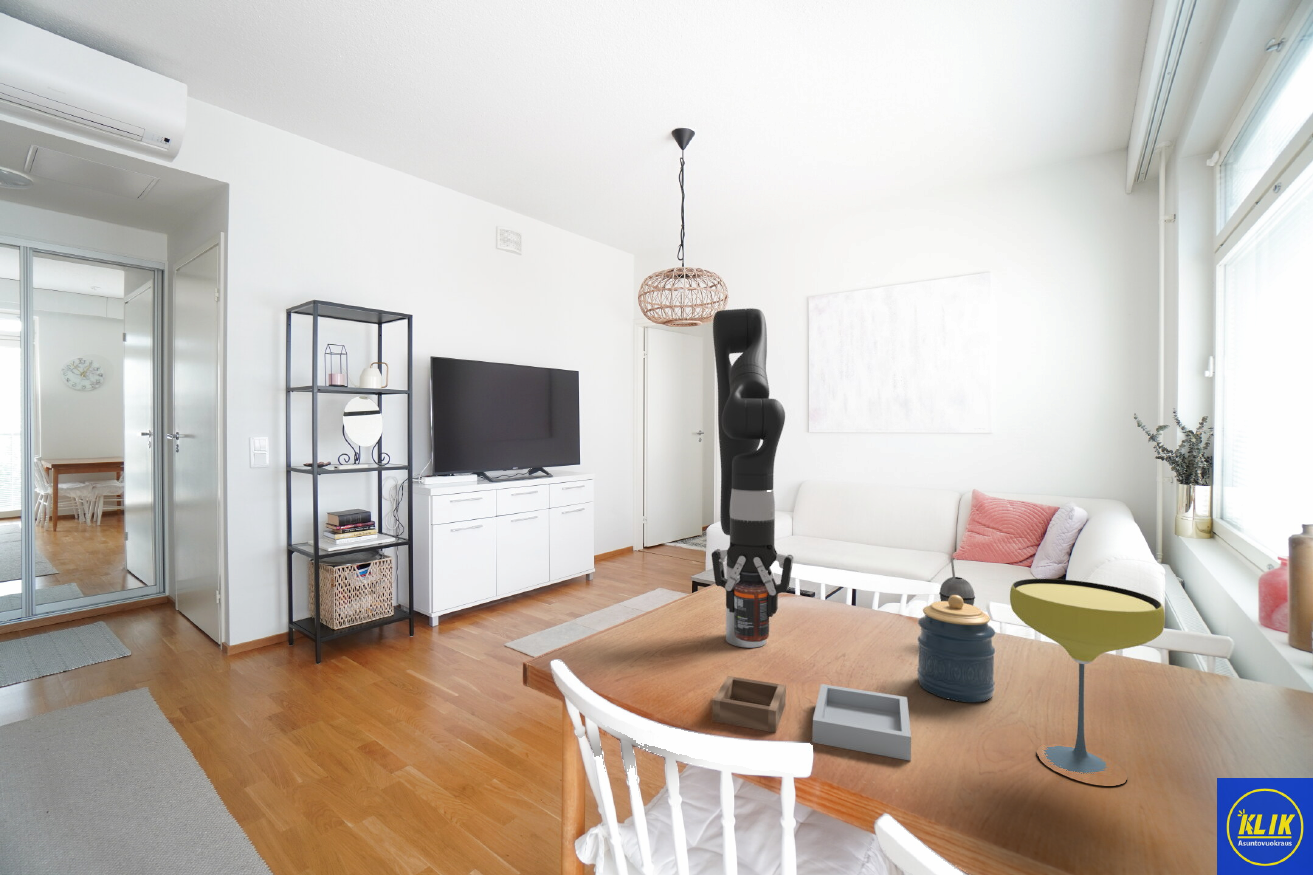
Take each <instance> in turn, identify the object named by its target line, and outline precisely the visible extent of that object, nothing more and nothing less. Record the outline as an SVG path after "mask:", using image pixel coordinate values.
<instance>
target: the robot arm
mask: <svg viewBox="0 0 1313 875" xmlns="http://www.w3.org/2000/svg"><path fill="white" fill-rule="evenodd" d="M767 335H768V334H767V321H766V317H765V315H764V313H763V311H762V310H761V309H759V308H753V307H752V308H737V309H735V308H734V309H721V310H718V311H716V312H715V313H714V316H713V320H712V336H713V348H714V350H713V351H714V357H715V359H714V360H715V368H716V369H715V370H716V377H717V378H716V380H717V424H718V425H717V426H718V429H717V431H718V443H719V456H720V457H719V458H720V512H719V513H720V515H719V516H720V527H721V531H722V533H723V534H724V535H726V536H728V537H729V546H728V549H720V548H717V549H715V550H714V551H712V553H711V561H712V562H711V563H712V569H713V570H712V571H713V578H714V584H715V585H716V586H717V587H721V588H723V589H724V590H725V607H726V608H725V611H726V612H725V640H726V642H727V643H728V644H730V645H732V646H734V647H739V648H740V647H741V648H747V649H748V648H759V647H763V646H765V645H766V644H767V639H766V640H763V641H760V642H748V641H743V640H740V639H738V638H737V637H736V636H735V634H734V587H735V585H736V583H738V582H739V581H740V572H747V573H759V574H760V576H761V578H762V580H763V582H764V583H765V585H766V587H767V590H768V592H769V594H768V617H769V618H773V616H774V615H775V614H776V613H777V611H778V608H779V606H778V604H779V603H778V602H779V594H781V593H782V594H783V593H784V594H785V593H786V592H787V591H788V589H789V588H790V587H789V586H790V581H791V577H792V570H793V564H794V562H793V561H794V556H793V555H792V554H787V555H785V554H780V553H778V552H777V550H776V547H775V531H776V530H775V526H776V525H775V521H776V520H775V519H776V517H775V514H776V512H775V511H776V509H775V508H776V502H775V494H774V474H775V473H774V472H775V471H774V470H775V458H776V454H777V450H778V446H779V442H780V439H781V435H782V432H783V429H784V425H785V422H786V421H785V420H786V412H785V408H784V406H783V405H782V403H781V402H780V401H779V400H778V399H777V398H770V386H769V381H768V380H769V379H768V375H767V358H768V356H767V355H768V352H767V351H768V336H767ZM730 354H740V355H739V356H738V357H737V358H736V360H735V361H734V362H733V364H732V363H731V358H730ZM761 440H762V443H761ZM759 446H760V447H759ZM776 561H777V562H778V566H779V568H780V569H781V572H782V573H781V578H780V583H778V584H777V582H776V578H775V577H774V573H773V571H772V568H771V566H773V564H774V563H775V562H776ZM725 562H726V573H725V569H724V568H725V567H724V563H725Z"/></svg>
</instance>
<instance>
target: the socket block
mask: <svg viewBox="0 0 1313 875" xmlns="http://www.w3.org/2000/svg"><path fill="white" fill-rule="evenodd" d="M786 689H787V687H786V684H782V683H773V682H768V681H763V680H757V679H749V678H743V677H736V676H732V675H727V677H726V678H725V680H724V681H723V683H722V684H721V686H720V688H719V689H718V691H717V693H716V694H715V696H714V697H713V699H712V722H715V723H722V724H727V725H732V726H733V725H734V726H738V727H744V728H749V729H754V730H759V731H765V732H769V733H777V730H778V727H779V724H780V722H781V719H782V716H783V713H784V710H785V707H786V699H787V698H786V697H787V696H786V693H787V692H786V691H787V690H786Z"/></svg>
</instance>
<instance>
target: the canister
mask: <svg viewBox="0 0 1313 875" xmlns="http://www.w3.org/2000/svg"><path fill="white" fill-rule="evenodd" d="M922 612H923V614H924V615H923V616H921V617H920V618H919V619H918V621H917V624H918V626H919V627H920V634H919V636H918V637H917V642H918V665H917V666H918V667H917V679H918V683H919V685H920V687H921V688H922V689H924V690H925V691H927V692H928V693H931V694H932V693H933V694H932V695H934V694H935V696H937V695H938V696H937V697H940V698H943V697H944V698H943V699H946V698H949V699H948V700H950V699H951V701H954V700H957V701H956V702H961V701H965V702H964V703H980V702H979V701H983V702H986V701H985V700H987V701H989V700H990V699H992V698H993V696H992V695H994V690H995V680H994V673H995V672H994V671H995V670H994V666H995V665H994V660H995V658H994V657H995V652H996V649H995V647H994V645H993V640H992V639H993V638H994V636H995V635H996V631H995V629H994V628H993V627H992V626H990V625H989V622H990V621H991V617H990V615H988V614H987V613H985V612H984V611H983V610H982V609H980V608H979V607H978V606H976V605H973V606H972V605H969V604H965V603H964V601H963V599H962V598H961V597H960V596H958V595H952V596H950V597H949V599H948V601H941V600H940V601H934V602H932V603H931V604H929V605H926V606H925V607H923V608H922ZM991 697H992V698H991ZM989 698H990V699H989ZM988 699H989V700H988Z"/></svg>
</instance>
